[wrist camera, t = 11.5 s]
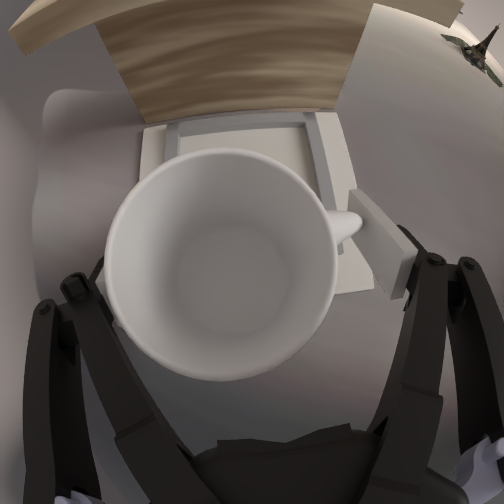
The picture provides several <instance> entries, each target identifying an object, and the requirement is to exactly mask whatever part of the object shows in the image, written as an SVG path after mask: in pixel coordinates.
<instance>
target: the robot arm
mask: <svg viewBox="0 0 504 504" xmlns="http://www.w3.org/2000/svg"><path fill="white" fill-rule="evenodd" d="M347 211H349V212H353V213H356V214H358V215H359V216H360V217H361V218H362V220H363V225H362V228H361V229H360V230H359V231H358V232H356V233H355V234H354V235H352V236H351V239H352V240H353V242H354V243H355V245H356V246H357V248H358V249H359V251H360V252H361V254H362V255H363V257H364V259H365V260H366V262H367V263H368V265H369V267H370V268H371V270H372V271H373V273H374V275H375V276H376V278H377V280H378V281H379V283H380V285H381V286H382V288H383V290H384V291H385V293H386V295H387V296H388V298H389V300H392V299H398V298H403V295H404V292H405V289H406V288H407V290H408V291H409V293H410V294H409V297H408V299H407V302H406V305H405V307H404V310H403V311H405V315H404V319H403V324H402V328H401V332H400V336H399V340H398V344H397V348H396V352H395V356H394V359H393V363H392V366H391V369H390V373H389V376H388V379H387V382H386V385H385V388H384V391H383V394H382V397H381V400H380V403H379V406H378V408H377V411H376V414H375V416H374V418H373V420H372V422H371V424H370V426H369V427H368V429H367V431H362V430H351V426H350V423H347V424H343V425H339V426H334V427H330V428H325V429H320V430H317V431H315V432H312V433H310V434H308V435H305V436H303V437H300V438H298V439H295V440H293V441H290V442H287V443H280V442H271V441H263V440H256V439H239V440H217V447H215V448H212V449H209V450H206V451H204V452H202V453H200V454H198V455H197V456H194V455H193V454H192V453H191V452H190V450H189V449H188V448H187V447H186V446H185V445H184V444H183V442H182V441H181V440H180V438H179V437H178V436H177V434H176V433H175V432H174V430H173V429H172V427H171V426H170V425H169V423H168V422H167V420H166V419H165V417H164V416H163V414H162V413H161V411H160V410H159V408H158V407H157V405H156V404H155V402H154V400H153V399H152V397H151V396H150V394H149V392H148V391H147V389H146V388H145V386H144V384H143V383H142V381H141V379H140V377H139V376H138V374H137V372H136V370H135V369H134V367H133V365H132V363H131V361H130V360H129V358H128V356H127V354H126V352H125V350H124V348H123V346H122V344H121V342H120V340H119V338H118V336H117V334H116V332H115V330H114V329H113V327H112V322H113V320H115V321H116V323H117V325H118V327H121V325H120V324H119V322H118V320H117V318H116V316H115V314H114V312H113V309H112V307H111V304H110V301H109V298H108V294H107V290H106V284H105V277H104V256H103V257H102V258H101V259H100V260H99V261H98V263H97V265H96V267H95V269H94V270H93V273H92V274H91V276H90V278H89V279H88V280H87V278H86V276H85V274H84V273H81V272H78V273H74V274H71V275H69V276H68V277H66V278H65V279H64V280H63V281H62V283H61V285H60V289H61V291H62V293H63V295H64V296H65V298H66V300H67V302H68V303H65V304H62V305H58V306H57V305H56V303H55V301H54V300H53V299H46V300H44V301H41V302H40V303H39V304H38V305H37V306H36V308H35V310H34V313H33V317H32V322H31V328H30V334H29V340H28V347H27V355H26V363H25V374H24V389H23V439H24V454H25V464H26V476H25V485H24V497H23V504H105V503H104V502H102V501H101V492H100V486H99V481H98V476H97V472H96V468H95V463H94V459H93V455H92V450H91V445H90V440H89V434H88V428H87V422H86V415H85V407H84V399H83V389H82V377H81V360H80V347H81V350H82V353H83V356H84V359H85V362H86V365H87V367H88V370H89V373H90V375H91V378H92V381H93V383H94V386H95V388H96V391H97V393H98V395H99V398H100V400H101V402H102V405H103V407H104V409H105V411H106V413H107V416H108V418H109V420H110V422H111V424H112V426H113V428H114V430H115V432H116V437H115V438H114V439H115V443H116V445H117V447H118V449H119V451H120V453H121V455H122V457H123V458H124V460H125V462H126V464H127V465H128V467H129V469H130V470H131V472H132V474H133V475H134V477H135V479H136V480H137V482H138V483H139V485H140V486H141V488H142V490H143V491H144V493H145V494H146V495H147V497H148V498H149V500H150V501H151V502H150V503H149V504H484V503H486V502H487V501H488V500H490V499H491V498H493V497H494V496H495V495H497V494H498V493H499V492H501V491H502V490H504V322H503V319H502V316H501V313H500V311H499V308H498V305H497V303H496V300H495V298H494V295H493V293H492V291H491V288H490V286H489V284H488V281H487V279H486V277H485V275H484V273H483V270H482V268H481V266H480V265H479V263H478V262H477V261H475V260H474V259H472V258H471V257H461V258H460V259H459V262H458V264H457V265H454V264H447V263H446V260H445V259H444V258H443V257H441V256H440V255H438V254H436V253H431V252H429V253H428V252H427V251H426V250H425V249H424V247H423V246H422V245H421V244H420V243H419V242H418V241H417V240H416V239H415V238H414V236H412V234H411V233H410V232H409V231H408V230H407V229H405V228H404V227H402V226H401V225H395V224H394V223H393V222H392V220H391V219H390V218H389V217H388V216H387V215H386V214H385V213H384V212H383V211H382V210H381V209H380V208H379V207H378V206H377V205H376V204H375V203H374V202H373V201H372V200H371V199H370V198H369V197H368V196H367V195H366V194H365V193H364V192H363V191H362V190H361V189H349V196H348V207H347ZM446 325H447V328H448V334H449V339H450V345H451V351H452V357H453V364H454V372H455V381H456V392H457V405H458V432H459V446H460V453H461V457H460V459H459V461H458V464H457V465H456V466H455V468H454V472H453V473H454V476H455V477H456V478H457V479H456V482H455V483H454V482H452V481H450V480H448V479H447V478H445V477H443V476H441V475H440V474H438V473H436V472H435V471H433V470H431V469H430V468H428V467H427V464H428V461H429V458H430V454H431V451H432V448H433V444H434V441H435V437H436V433H437V429H438V425H439V420H440V416H441V411H442V406H443V397H442V396H441V395H439V393H438V392H439V385H440V379H441V373H442V366H443V358H444V349H445V339H446Z"/></svg>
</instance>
